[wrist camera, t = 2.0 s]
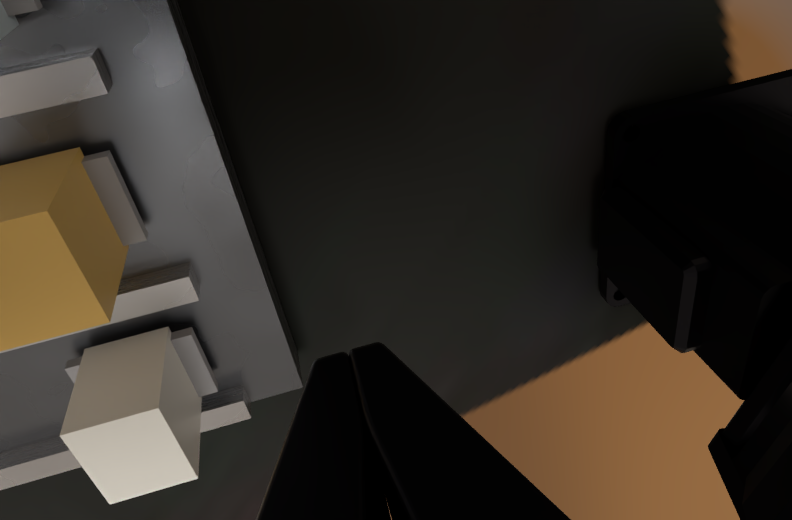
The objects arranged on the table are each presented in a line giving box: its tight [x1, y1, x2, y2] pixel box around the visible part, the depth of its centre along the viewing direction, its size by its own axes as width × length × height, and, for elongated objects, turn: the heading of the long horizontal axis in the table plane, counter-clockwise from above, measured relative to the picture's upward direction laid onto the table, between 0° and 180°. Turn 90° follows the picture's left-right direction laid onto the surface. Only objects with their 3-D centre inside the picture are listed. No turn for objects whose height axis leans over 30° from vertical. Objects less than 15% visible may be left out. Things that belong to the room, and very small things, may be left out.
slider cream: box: [60, 327, 218, 504], centre depth 14 cm, size 3×2×3 cm
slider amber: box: [0, 147, 148, 351], centre depth 12 cm, size 3×2×3 cm
